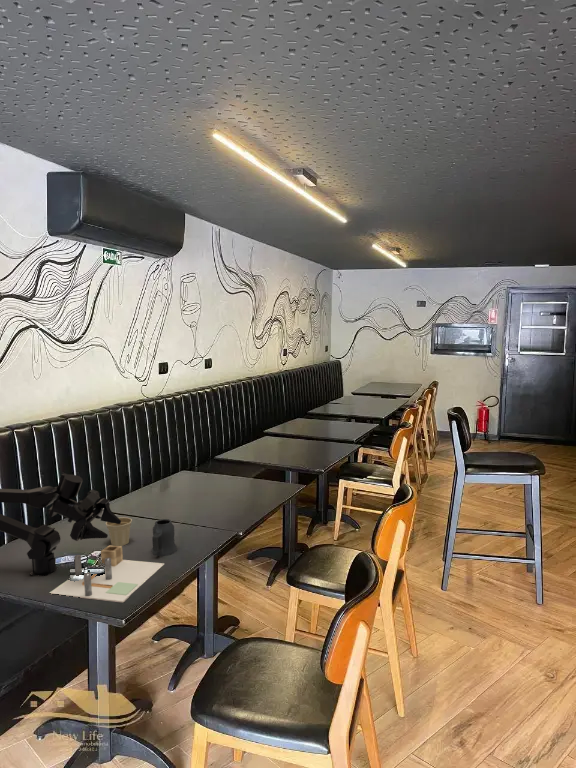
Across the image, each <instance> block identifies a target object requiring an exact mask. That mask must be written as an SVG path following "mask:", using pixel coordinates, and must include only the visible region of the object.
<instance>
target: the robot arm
mask: <svg viewBox="0 0 576 768" xmlns="http://www.w3.org/2000/svg"><path fill="white" fill-rule="evenodd" d="M83 480H84V479H83V477H81V476H79V475H77V474H68V473H63V474H61V475H60V477H59V482H58V485H57V486H55V487H53V486H51V485H48V486H47V485H46V486H41V487H36V488H32V489H31V488H30V489H23V488H22V489H19V488H18V489H17V488H0V503H3V504H4V503H5V504H6V503H7V504H24V505H28V506H29V507H32V508H36V509H39V510H40V509H44V508H46V507H48V506H50V505H51V507H50V508H48V509H47V511H48V515H49V516H48V517H49V518H52V517H54V516H56V515H57V514H59V515H60V516H63V518H64V517H65V518H66V519H67V522H69V523H72V522H74V523H73V524H72V528H71V531H70V535H69V536H70V539H72V540H73V541H76V542H79V540H80V541H82V540H88V539H89V540H90V539H107V538H108V533H106V532H104V531H102V530H100V529H98V528H97V527H95V526H94V525H93V523H92V521H94V520H95V519H97V520H99V519H100V522H105V523H106V522H110V523H115V524H120V523H121V520H120V519H119V518H120V517H118V516H117V515H116V514H115V513H114V511H112V510H111V503H110V499H108V498H106V497H104V498H101V497H100V492H99V491H97V490H94V489H91V490H89V491H88V492H87V494H86V497H84V499H83V500H82V499H81V500H80V499H79V501H76V500H74V498H76V497H77V496H78V494H79V491H80V489H81V486H82V483H83V482H84V481H83ZM100 498H101V499H100ZM99 499H100V500H99ZM97 501H98V502H97ZM95 503H96V504H95ZM55 529H56V528H55V527H50V526H48V525H47V524H42V525H40V526H39V527H33V526H31V525H29V524H27V523H25V522H24V523H23V522H21V521H19V520H17V519H15V518H12V517H9V516H7V515H5V514H1V513H0V532H3V533H5V534H8V535H10V536H12V537H15V538H17V539H19V540H22V541H24V542H26V543H27V544H28V546H29V547H30V549H29V551H28V552H26V555H27V558H28V560H31V568H32V570H31V571H30V573H31V574H32V575H31V576H33V575H34V576H38V575H39V577H47V576H49V575H51V574H52V573H53V572H54V570H55V571H56V570H58V569H59V567H58V566H56V565H57V564H56V557H55V553H54V551H55V550H57V547H58V545H59V544H60V542H61V535H60V532H58V531H57V530H55ZM57 568H58V569H57ZM30 573H29V574H30ZM29 574H28V575H29Z"/></svg>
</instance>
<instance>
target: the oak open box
mask: <svg viewBox="0 0 576 768" xmlns="http://www.w3.org/2000/svg"><path fill="white" fill-rule="evenodd" d="M123 553H124V552H123V546H112V545H111V544H110V545H108V546H106V547H105V548H103V549H101V550H100V556H101V557H100V558H101V560H102V563H104V564H105V558H111V566H116V565H118V564H119V563H120V562H121V561H123V560H124V559H123V558H124V556H123V555H124V554H123Z"/></svg>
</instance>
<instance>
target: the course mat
mask: <svg viewBox="0 0 576 768" xmlns="http://www.w3.org/2000/svg"><path fill="white" fill-rule="evenodd" d="M164 565H165V563H164V562H162V563H161V562H154V561H153V562H152V561H151V562H150V561H141V560H128V559H123V561H121V562H120V563H119V564H118V565H116V566H112V579H110V580H106V578H105V574H103V575H100V576H96V577H94V578H93V579H92V580H91V583H97V584H106V585H113V587H111V588H103V587H93V586H92V595H91V596H85V588H84V585H82V582H84V579H82V580H79V581H75V582H74V581H70V580H68V579H67V580H66V581H64V582H63V583H61V584H60V585H58V586H56V587H55V588H54V589H53V590H51V591H50V592H49V593H51V594H50V595H52V594H59V595H58V596H61V595H66V596H65V597H69V596H73V597H72V598H78V597H80V599H81V598H82V599H88V600H89V599H90V600H98V601H106V602H114V603H115V602H116V603H122V604H123V603H124V602H126V601H127V600H128V599H129V598H131V595H132V594H133V593H134V592H136V590H138V589H139V588H140V587H141V586H142V585H143V584H144V583H145V582H146V581H148V579H150V578H151V577H152V576H153V575H154V574H155V573H157V572H158V570H159V569H161V568H162V567H163V566H164Z"/></svg>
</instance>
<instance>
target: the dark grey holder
mask: <svg viewBox="0 0 576 768" xmlns="http://www.w3.org/2000/svg"><path fill="white" fill-rule="evenodd" d="M151 538H152V549H151V554H152V555H153V556H156V557H167V556H171V555H173V554H175V553H176V552H177V551H178V548H177V545H176V543H175V525H174V523H173V522H172V520H171V519H167V518H163V519H157V520H156V521H154V524H153V527H152V537H151Z"/></svg>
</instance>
